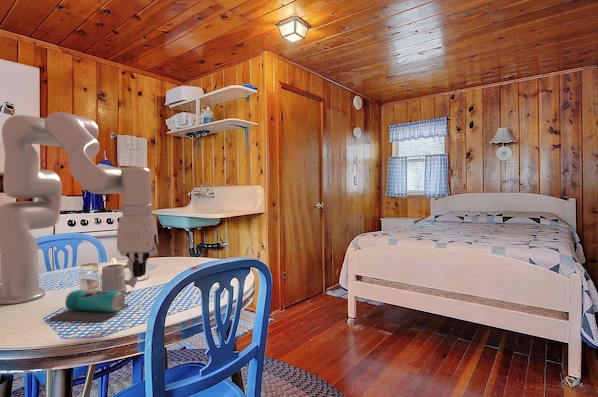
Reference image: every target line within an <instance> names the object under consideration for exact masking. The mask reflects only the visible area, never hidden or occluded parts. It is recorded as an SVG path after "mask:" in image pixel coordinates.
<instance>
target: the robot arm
mask: <svg viewBox="0 0 598 397" xmlns="http://www.w3.org/2000/svg"><path fill="white" fill-rule="evenodd" d="M99 133H100V132H99V126H98V124H97V123H96V122H95V121H94V120H93V119H91V118H89V117H86V116H82V115H78V114H74V113H73V114H72V113H68V112H61V111H59V112H58V111H57V112H53V113H50V114H48V116H47V117H45V118H44V117H39V116H33V115H25V114H22V115H21V114H20V115H19V114H18V115H12V116H10V117H8V118H7V119H6V120H4V123H3V125H2V128H1V139H2V144H3V145H2V146H3V148H4V164H3V165H4V166H3V167H4V168H3V180H2V184H3V185H2V186H3V193H5V195H6V196H8V197H10V198H14V199H37V201H13V202H7V203H4V204H2V205H0V278H1V280H0V281H1V284H0V305H12V304H13V305H14V304H20V303H25V302H29V301H34V300H37V299H40V298H42V297H44V296H45V295H46V290H45V289H42V288H40V275H39V274H40V272H39V271H40V270H39V267H40V266H39V244H38V241H37V239H36V238H35V236H34V235H33V234H32V233H31V231H33V230H40V229H41V230H42V229H48V228H52V227H54V226H55V225H57V223H58V221H59V220H60V216H61V207H62V205H61V204H62V192H63V185H62V180H61V177H60V176H59V175H58V173H56V172H55V171H52V170H49V169H39V166H40V165H39V164H40V157H39V154H38V152H37V149H35V146H34V145H41V146H48V147H57V148H62V149H63V150H64V151H65V153H66V154H67V155H68V156H69V157H68V169H69V172H70V174H71V176H72V177H73V179H74V180H75V181H76V182H77V183H78V184H79V185H80V186H81V188H83V189H84V190H86V191H87V192H89V193H91V194H95V195H108V194H109V195H110V194H111V195H112V194H115V195H117V194H121V206H120V207H118V212H119V213H121V214H122V216H119V219H118V224H117V229H116V230H117V231H116V250H117V252H119V255H120V256H124V257H126V258H128V260H129V259H130V262H131V263H133V273H134V277H137V278H141V277H143V276H145V275H146V272H147V261H148V259H149V258H150V257H152V256H156V255H158V254H159V252H158V248H159V234H158V226H157V221H156V217H155V215H153V203H152V202H153V201H152V200H153V198H152V173H151V170H150V169H149V168H147V167H142V166H139V167H138V166H128V167H116V166H114V167H113V166H99V165H97V164H95V163H94V162H93V161H92V159H94V158H96V156H97V155H98V154H99V152H100V148H101V146H100V142H99V141H98V137H99V135H100V134H99Z"/></svg>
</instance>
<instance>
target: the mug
mask: <svg viewBox="0 0 598 397" xmlns="http://www.w3.org/2000/svg"><path fill="white" fill-rule="evenodd" d="M125 269H128V270H130V271H131V277H130V279H129V280H128V279H125V277H126V273H125ZM138 278H139V277H134V273H133V263H131V262H130V259H129V258H128V260H127V263H126V264H122V263H114V264H113V263H111V264H108V265H104V266H102V267H101V276H100V279H101V290H100V291H118V292H120V293H122V294H123V295H124V296H125V295H126V294H127V293H126V291H127V290H128V289H127V286H130V287H131V288H135V286H136V284H138V283H137V282H138V280H139V279H138Z"/></svg>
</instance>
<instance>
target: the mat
mask: <svg viewBox="0 0 598 397" xmlns="http://www.w3.org/2000/svg"><path fill="white" fill-rule="evenodd" d="M128 307H129V303H124V305H123V307H122V308H121V309H120V310H117V311H114V312H101V311H76V310H72V309H68V308H67V309H66V310H64V311H62V312H59V313H57V314H55V315H53V316H51V317H50V318H49V320H50V321H66V322H67V321H70V322H71V321H72V322H73V321H74V322H95V323H99V322H100V323H101V322H103V321H105V320H106V319H108V318H110V317H112V316H114V315H116V314H117V313H119V312H121V311H122V310H124V309H126V308H128Z"/></svg>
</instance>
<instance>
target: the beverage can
mask: <svg viewBox="0 0 598 397" xmlns="http://www.w3.org/2000/svg"><path fill="white" fill-rule="evenodd" d="M65 297H66V298H65V303H64V304H65V307H66V308H67V310H68V309H72V310H76V311H101V312H114V311H117V310H120V309H121V308H122V307H123V305H124V304H125V301H126V298H125V295H123V294H122V293H120V292H118V291H101V290H91V289H77V290H72V291H70V292H68V294H67V296H65ZM120 311H121V310H120Z"/></svg>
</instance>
